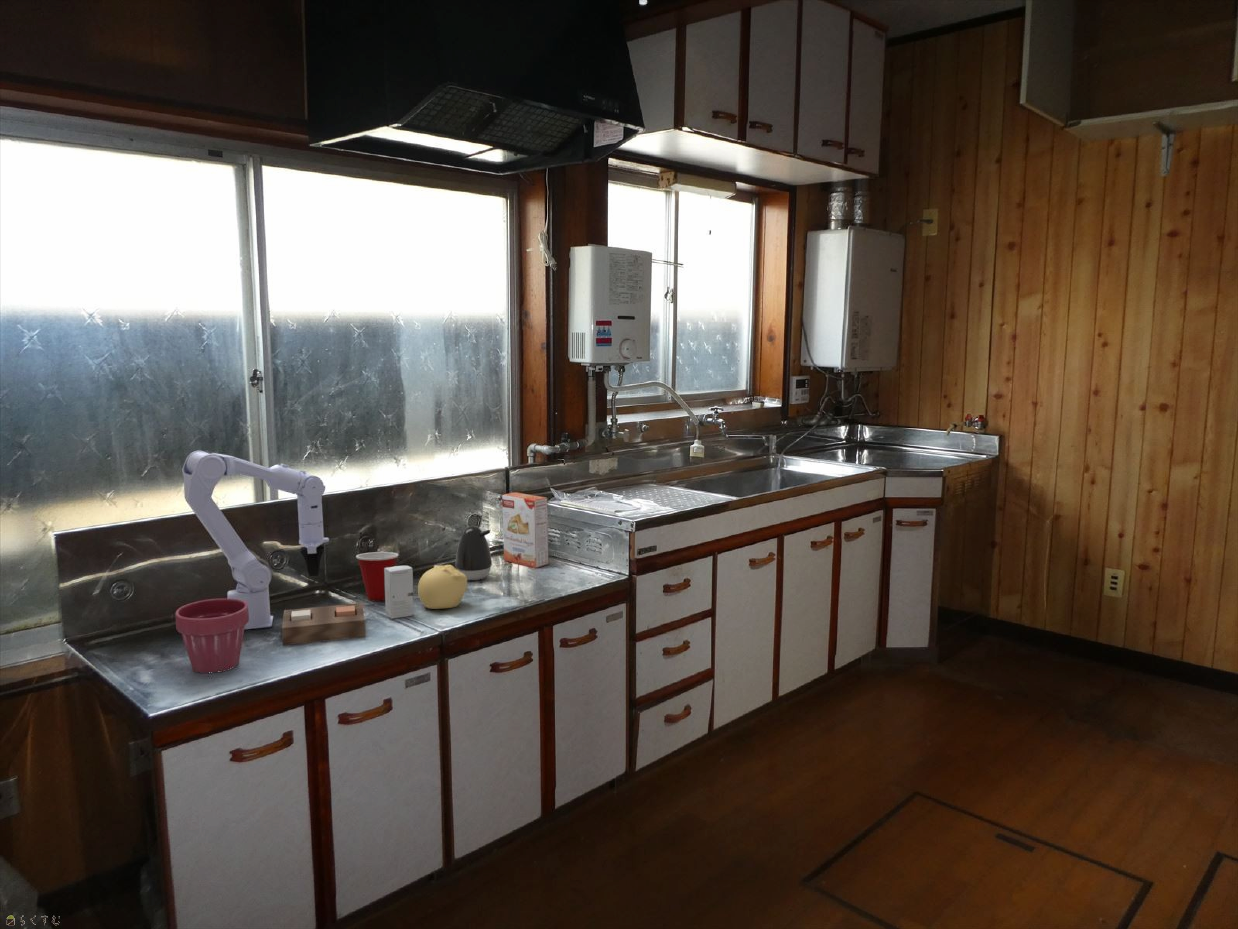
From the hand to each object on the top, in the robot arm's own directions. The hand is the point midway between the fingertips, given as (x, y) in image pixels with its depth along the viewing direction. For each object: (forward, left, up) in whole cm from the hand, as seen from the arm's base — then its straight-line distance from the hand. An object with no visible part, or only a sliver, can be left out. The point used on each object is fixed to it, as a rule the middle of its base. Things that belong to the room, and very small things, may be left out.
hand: (313, 575), depth 230 cm
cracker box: (+61, +30, -10) cm, 68 cm away
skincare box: (+20, -10, -10) cm, 24 cm away
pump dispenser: (+43, +18, -10) cm, 48 cm away
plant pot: (-20, -33, -10) cm, 40 cm away
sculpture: (+31, -6, -10) cm, 33 cm away
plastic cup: (+16, +7, -10) cm, 20 cm away
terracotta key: (+7, -17, -8) cm, 20 cm away
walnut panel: (+2, -17, -9) cm, 20 cm away
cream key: (-3, -17, -8) cm, 19 cm away
